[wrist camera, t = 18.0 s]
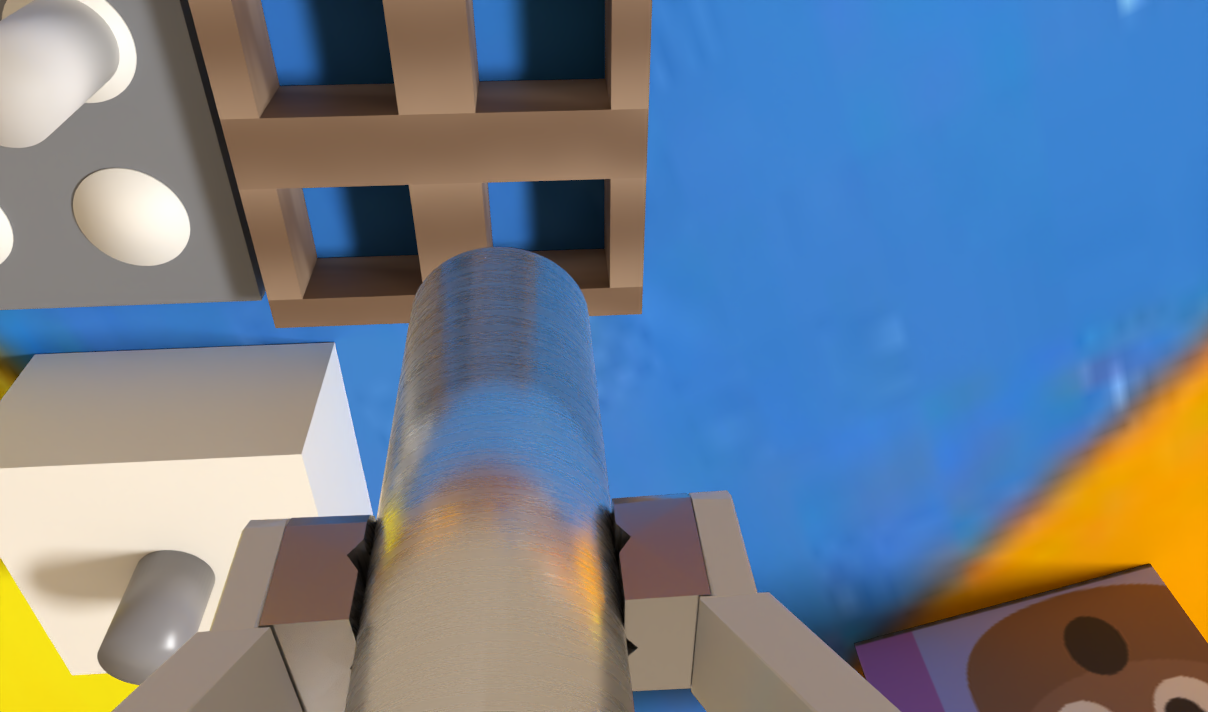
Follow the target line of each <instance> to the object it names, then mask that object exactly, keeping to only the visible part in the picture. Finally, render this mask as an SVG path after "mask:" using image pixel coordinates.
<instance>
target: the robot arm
mask: <svg viewBox="0 0 1208 712" xmlns="http://www.w3.org/2000/svg"><path fill="white" fill-rule="evenodd" d="M611 517H612V526H613V535H614V544H615V553H616V558H617V563H618V572H619V588H620V597H621V605H622V614H623V622H624V630H625V635H626V641H627V650H628V659H629V667H630V676H631V685H632V691H645V690H666V689H686V688H691V692H692V693H693V695H694V696H695V697H696V698H697V700H698V701H699V702H700V703H701V705H702V706H703V707H704V709H705V710H706V711H707V712H901V711H900V710H899V709H898V708H897V707H895V706H894V705H893V704H892V703H891V702H890V701H889V700H888V699H887V698H885V697H884V696H883V695H882V694H881V693H880V692H879V691H878V690H877V689H875V688H874V687H873V686H872V685H871V684H870V683H869V682H868V681H867V680H866V679H864V678H863V677H862V676H861V675H860V674H859V673H858V672H857V671H856V670H854V669H853V668H852V667H851V666H850V665H849V664H848V663H847V662H846V661H844V660H843V659H842V658H841V657H840V656H839V655H838V654H837V653H836V652H834V651H833V650H832V649H831V648H830V647H829V646H828V645H827V644H826V643H825V642H823V641H822V640H821V639H820V638H819V637H818V636H817V635H816V634H815V633H813V632H812V631H811V630H810V629H809V628H808V627H807V626H806V625H805V624H803V623H802V622H801V621H800V620H799V619H798V618H797V617H796V616H795V615H794V614H792V613H791V612H790V611H789V610H788V609H787V608H786V607H785V606H784V605H782V604H781V603H780V602H779V601H778V600H777V599H776V598H775V597H774V596H772V595H771V594H770V593H769V592H766V593H757V590H756V586H755V582H754V578H753V575H752V571H751V567H750V563H749V560H748V556H747V552H746V548H745V545H744V541H743V537H742V534H741V530H740V526H739V522H738V519H737V515H736V511H735V507H734V504H733V500H732V496H731V495H730V494H729V493H728V491H712V492H698V493H689V494H687V493H681V494H667V495H654V496H640V497H627V498H613V499H612V502H611ZM375 526H376V519H375V516H372V515H351V516H325V517H299V518H289V519H265V520H250V521H249V523H248V524H247V525H246V527H245V528H244V529H243V530H242V533H241V536H240V539H239V542H238V545H237V548H236V551H235V554H234V557H233V560H232V563H231V566H230V569H229V572H228V576H227V579H226V582H225V585H224V588H223V591H222V594H221V597H220V600H219V603H218V606H217V609H216V612H215V615H214V618H213V621H212V624H211V628H210V631H204V632H197V633H195V634H194V635H193V636H192V637H191V638H190V639H189V640H188V641H187V642H186V643H185V644H184V645H183V646H182V647H180V648H179V649H178V650H177V651H176V652H175V653H174V654H173V655H172V656H171V657H170V658H169V659H168V660H166V661H165V662H164V663H163V664H162V665H161V666H160V667H159V668H158V669H157V670H156V671H155V672H154V673H153V674H151V675H150V676H149V677H148V678H147V679H146V680H145V681H144V682H143V683H142V684H141V685H140V686H139V687H137V688H136V689H135V690H134V691H133V692H132V693H131V694H130V695H129V696H128V697H127V698H126V699H125V700H124V701H122V702H121V703H120V704H119V705H118V706H117V707H116V708H115V709H114V710H113V711H112V712H345V706H346V700H347V694H348V688H349V682H350V676H351V670H352V664H353V658H354V652H355V646H356V640H357V634H358V628H359V622H360V616H361V610H362V604H363V598H364V592H365V586H366V580H367V574H368V568H369V562H370V556H371V550H372V544H373V538H374V532H375Z"/></svg>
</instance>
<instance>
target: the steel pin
mask: <svg viewBox="0 0 1208 712" xmlns="http://www.w3.org/2000/svg"><path fill="white" fill-rule="evenodd" d="M345 712H635V711H634V702H633V693H632V685H631V676H630V667H629V659H628V650H627V641H626V635H625V630H624V622H623V614H622V605H621V597H620V588H619V572H618V563H617V558H616V553H615V544H614V535H613V526H612V517H611V503H610V494H609V485H608V477H607V468H606V459H605V451H604V442H603V433H602V425H601V416H600V407H599V399H598V390H597V381H596V373H595V364H594V355H593V347H592V338H591V329H590V321H589V313H588V308H587V303H586V301H585V298H584V295H583V293H582V291H581V290H580V288H579V286H578V285H577V283H576V282H575V281H574V280H573V278H572V277H571V276H570V275H569V274H568V273H567V272H566V271H565V270H564V269H562V268H561V267H560V266H558V265H557V264H556V263H554V262H552V261H551V260H549V259H547V258H545V257H543V256H541V255H538V254H536V253H533V252H530V251H526V250H523V249H517V248H511V247H486V248H480V249H474V250H471V251H467V252H464V253H461V254H459V255H457V256H454V257H452V258H450V259H449V260H447V261H445V262H444V263H442V264H441V265H439V266H438V267H437V268H436V269H434V270H433V271H432V272H431V273H430V274H429V275H428V276H427V277H426V278H425V280H424V281H423V283H422V284H421V286H420V287H419V289H418V291H417V293H416V295H415V298H414V301H413V304H412V309H411V315H410V321H409V327H408V333H407V339H406V345H405V351H404V357H403V363H402V369H401V375H400V381H399V387H398V393H397V399H396V405H395V411H394V417H393V423H392V429H391V435H390V441H389V448H388V454H387V460H386V466H385V472H384V478H383V484H382V490H381V496H380V502H379V508H378V514H377V520H376V526H375V532H374V538H373V544H372V550H371V556H370V562H369V568H368V574H367V580H366V586H365V592H364V598H363V604H362V610H361V616H360V622H359V628H358V634H357V640H356V646H355V652H354V658H353V664H352V670H351V676H350V682H349V688H348V694H347V700H346V706H345Z"/></svg>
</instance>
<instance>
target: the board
mask: <svg viewBox="0 0 1208 712" xmlns="http://www.w3.org/2000/svg"><path fill="white" fill-rule="evenodd" d="M265 291H266V290H265V286H264V282H263V279H262V275H261V271H260V268H259V264H258V260H257V256H256V253H255V249H254V245H253V241H252V238H251V234H250V230H249V226H248V223H247V219H246V215H245V211H244V208H243V204H242V200H241V196H240V193H239V189H238V185H237V181H236V178H235V174H234V170H233V167H232V163H231V159H230V155H229V152H228V148H227V144H226V140H225V137H224V133H223V129H222V125H221V122H220V118H219V114H218V110H217V107H216V103H215V99H214V95H213V92H212V88H211V84H210V80H209V77H208V73H207V69H206V66H205V62H204V58H203V54H202V51H201V47H200V43H199V39H198V36H197V32H196V28H195V24H194V21H193V17H192V13H191V9H190V6H189V2H188V0H0V310H11V309H38V308H65V307H93V306H120V305H147V304H175V303H202V302H230V301H257V300H262V298H263V296H264V293H265Z"/></svg>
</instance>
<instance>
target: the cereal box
mask: <svg viewBox="0 0 1208 712" xmlns="http://www.w3.org/2000/svg"><path fill="white" fill-rule="evenodd" d="M854 645H855V648H856V651H857V654H858V657H859V660H860V664H861V667H862V670H863V673H864V676H865V679H866V680H867V681H868V682H869V683H870V684H871V685H872V686H873V687H874V688H875V689H877V690H878V691H879V692H880V693H881V694H882V695H883V696H884V697H885V698H887V699H888V700H889V701H890V702H891V703H892V704H893V705H894V706H895V707H897V708H898V709H899V710H900V711H901V712H1208V643H1207V642H1206V641H1205V639H1204V638H1203V636H1202V635H1201V634H1200V632H1199V631H1198V629H1197V628H1196V627H1195V625H1194V624H1193V622H1192V621H1191V620H1190V618H1189V617H1188V616H1187V614H1186V613H1185V611H1184V610H1183V609H1182V607H1181V606H1180V604H1179V603H1178V602H1177V600H1176V599H1175V598H1174V596H1173V595H1172V593H1171V592H1170V591H1169V589H1168V588H1167V586H1166V585H1165V584H1164V582H1163V581H1162V579H1161V578H1160V577H1159V575H1158V574H1157V573H1156V571H1155V570H1154V568H1153V567H1152V566H1151V564H1147V565H1143V566H1139V567H1136V568H1132V569H1128V570H1124V571H1121V572H1117V573H1113V574H1110V575H1106V576H1102V577H1099V578H1095V579H1091V580H1087V581H1084V582H1080V583H1076V584H1073V585H1069V586H1065V587H1061V588H1058V589H1054V590H1050V591H1047V592H1043V593H1039V594H1036V595H1032V596H1028V597H1024V598H1021V599H1017V600H1013V601H1010V602H1006V603H1002V604H998V605H995V606H991V607H987V608H984V609H980V610H976V611H972V612H969V613H965V614H961V615H958V616H954V617H950V618H947V619H943V620H939V621H935V622H932V623H928V624H924V625H921V626H917V627H913V628H909V629H906V630H902V631H898V632H895V633H891V634H887V635H884V636H880V637H876V638H872V639H869V640H865V641H861V642H858V643H854Z"/></svg>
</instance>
